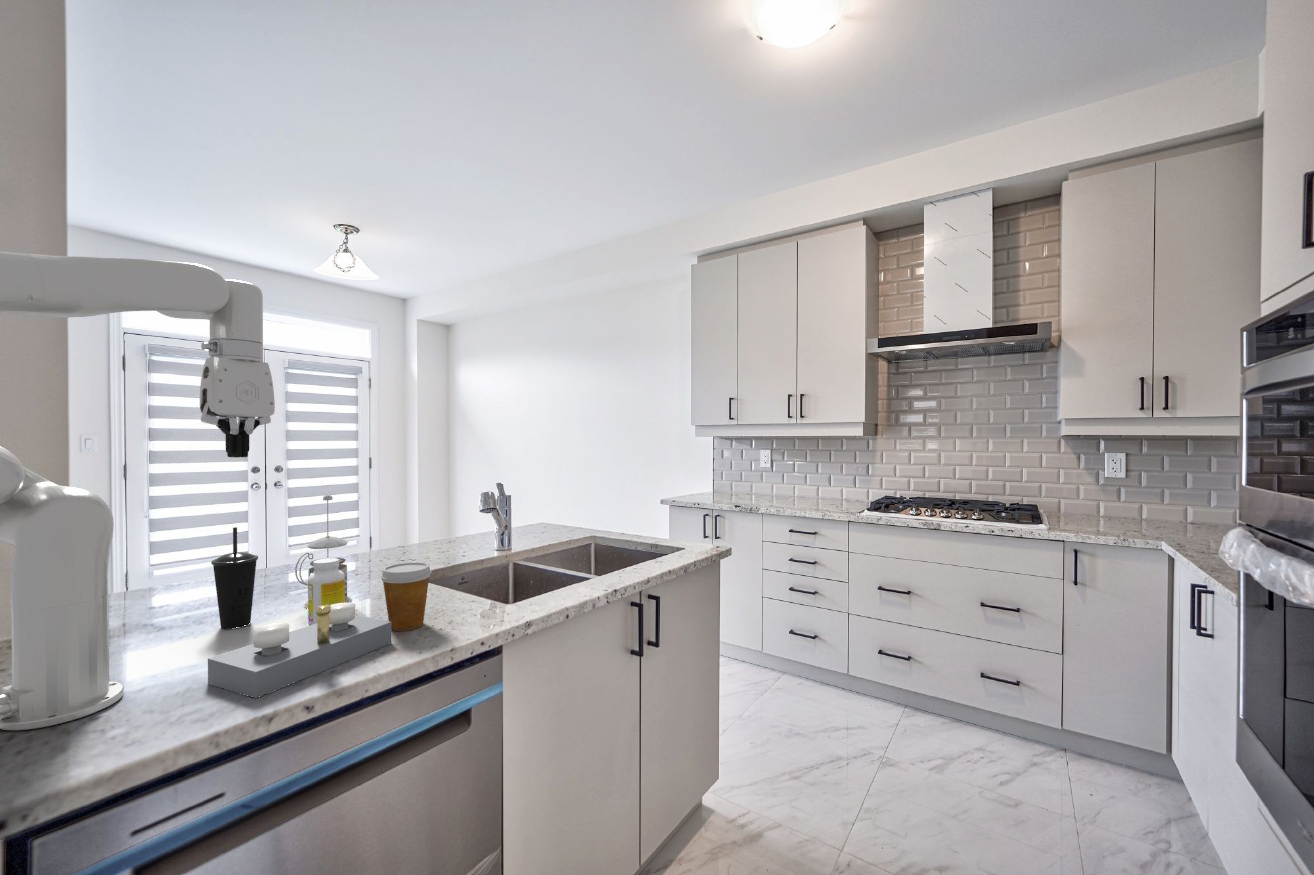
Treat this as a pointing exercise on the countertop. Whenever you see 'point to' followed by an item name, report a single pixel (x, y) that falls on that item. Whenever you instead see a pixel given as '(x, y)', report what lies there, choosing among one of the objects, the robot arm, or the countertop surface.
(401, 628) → the disposable coffee cup
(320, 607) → the brass post
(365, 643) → the mount
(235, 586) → the drinking cup
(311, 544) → the french press
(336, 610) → the knob far
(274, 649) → the knob near
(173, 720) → the countertop surface
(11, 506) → the robot arm
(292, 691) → the countertop surface
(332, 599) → the supplement bottle
